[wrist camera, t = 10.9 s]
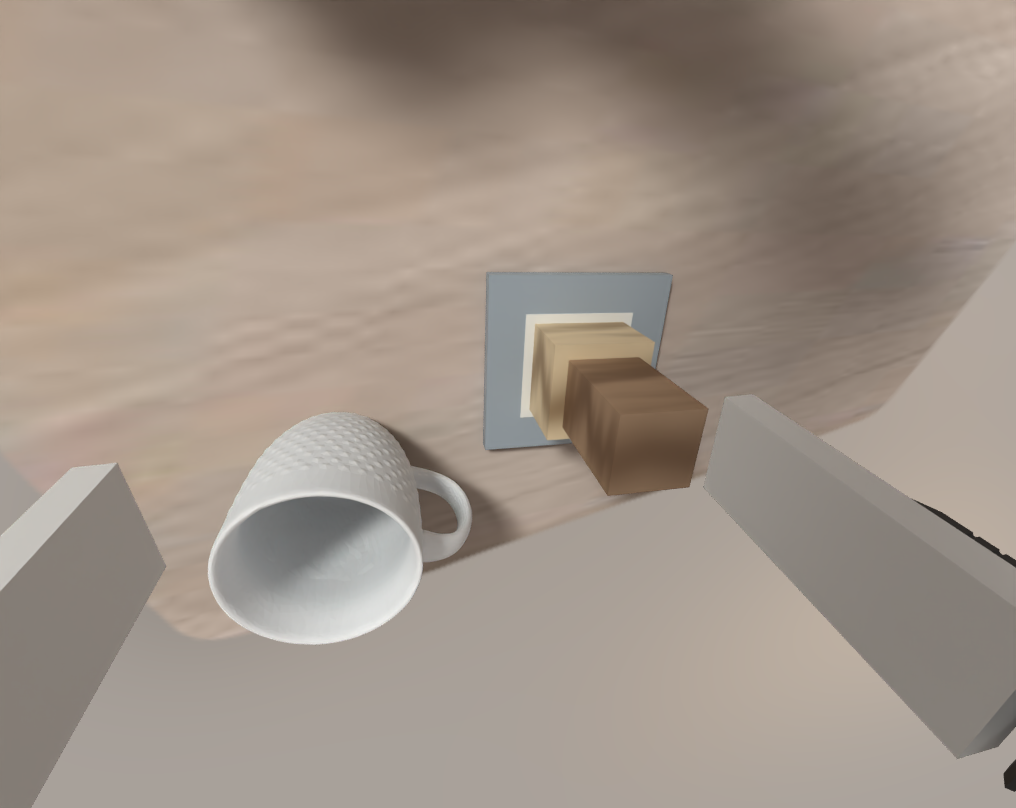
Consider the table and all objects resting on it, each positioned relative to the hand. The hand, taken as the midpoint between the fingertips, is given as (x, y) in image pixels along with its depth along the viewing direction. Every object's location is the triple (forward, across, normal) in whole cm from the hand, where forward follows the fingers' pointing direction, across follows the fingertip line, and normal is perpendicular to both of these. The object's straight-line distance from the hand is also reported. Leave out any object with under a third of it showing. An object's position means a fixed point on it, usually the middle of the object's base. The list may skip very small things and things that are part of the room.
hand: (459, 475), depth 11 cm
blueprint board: (+24, +11, -8) cm, 28 cm away
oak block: (+23, +12, -8) cm, 27 cm away
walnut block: (+18, +12, -8) cm, 23 cm away
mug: (+24, -6, -14) cm, 29 cm away
